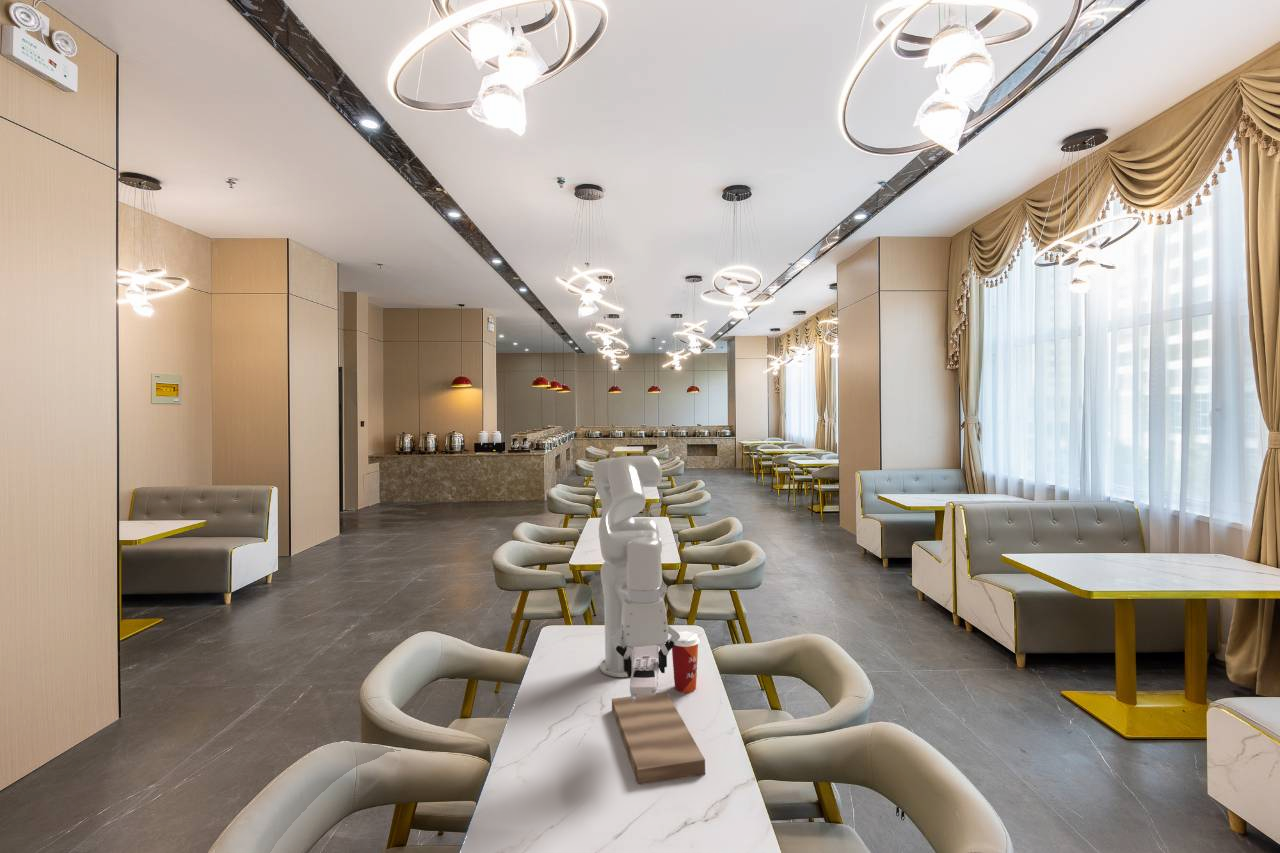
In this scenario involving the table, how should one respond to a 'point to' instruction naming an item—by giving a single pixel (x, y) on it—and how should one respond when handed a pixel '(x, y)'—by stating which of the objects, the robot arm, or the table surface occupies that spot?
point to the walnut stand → (656, 739)
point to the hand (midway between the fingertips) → (645, 671)
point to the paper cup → (685, 662)
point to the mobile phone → (644, 671)
